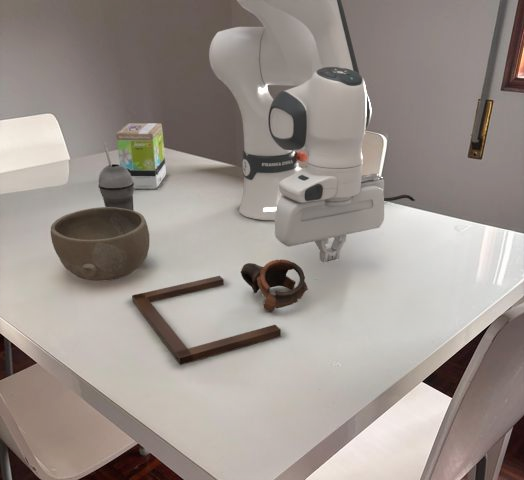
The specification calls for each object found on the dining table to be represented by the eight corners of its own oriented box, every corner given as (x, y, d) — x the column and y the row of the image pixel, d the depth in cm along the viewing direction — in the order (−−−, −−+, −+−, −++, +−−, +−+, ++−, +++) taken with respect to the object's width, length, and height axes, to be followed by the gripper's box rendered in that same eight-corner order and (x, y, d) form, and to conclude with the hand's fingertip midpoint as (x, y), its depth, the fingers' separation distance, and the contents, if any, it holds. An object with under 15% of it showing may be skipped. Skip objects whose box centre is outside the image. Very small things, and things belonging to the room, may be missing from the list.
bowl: (108, 299, 98) (98, 245, 92) (39, 277, 106) (27, 226, 100) (172, 265, 110) (167, 215, 105) (106, 247, 118) (98, 200, 113)
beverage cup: (133, 244, 119) (119, 146, 109) (101, 242, 121) (84, 145, 110) (145, 232, 125) (134, 138, 115) (115, 230, 127) (101, 137, 116)
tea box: (158, 189, 154) (152, 132, 146) (122, 189, 154) (113, 132, 146) (167, 174, 166) (162, 121, 158) (133, 175, 166) (126, 121, 159)
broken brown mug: (310, 291, 100) (317, 264, 93) (291, 333, 96) (297, 308, 89) (248, 268, 102) (250, 239, 95) (227, 308, 98) (228, 281, 90)
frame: (219, 281, 103) (219, 275, 103) (280, 336, 87) (280, 329, 86) (132, 301, 97) (131, 295, 96) (180, 365, 80) (179, 358, 79)
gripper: (373, 167, 98) (366, 243, 105) (270, 183, 90) (270, 264, 97) (396, 176, 93) (387, 254, 100) (290, 193, 85) (288, 277, 92)
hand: (329, 259), depth 99 cm, fingers closed
